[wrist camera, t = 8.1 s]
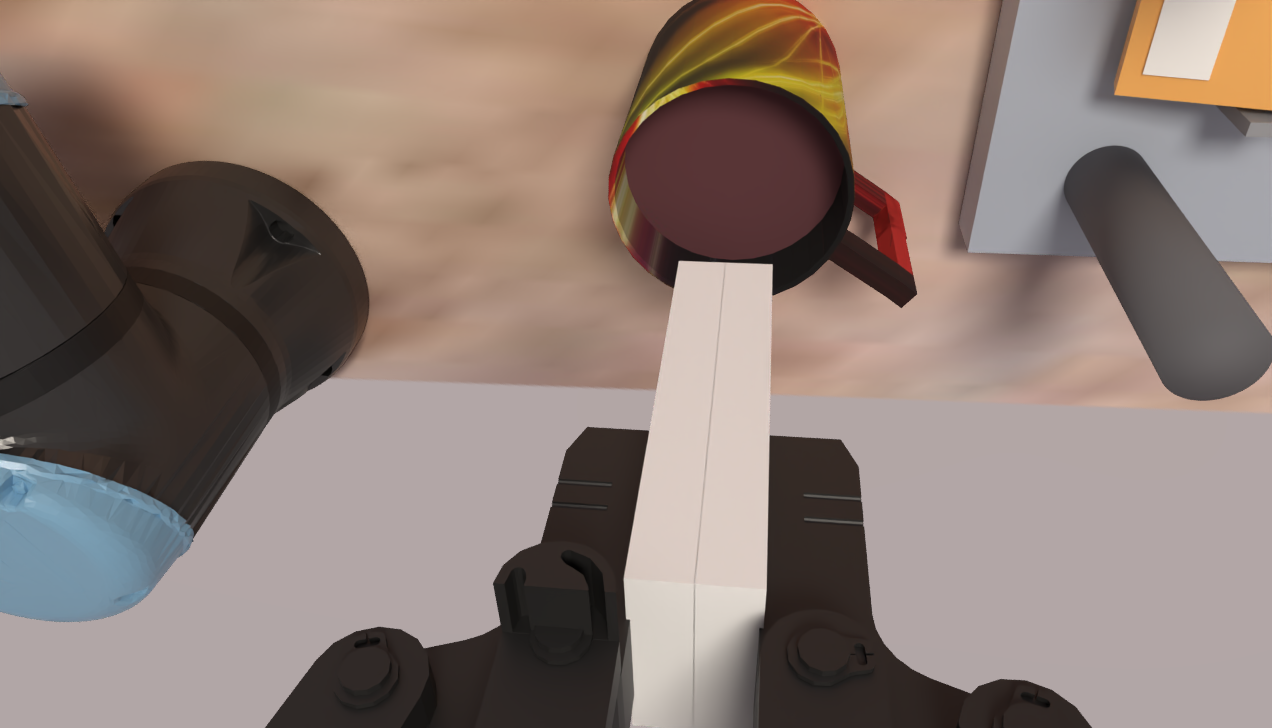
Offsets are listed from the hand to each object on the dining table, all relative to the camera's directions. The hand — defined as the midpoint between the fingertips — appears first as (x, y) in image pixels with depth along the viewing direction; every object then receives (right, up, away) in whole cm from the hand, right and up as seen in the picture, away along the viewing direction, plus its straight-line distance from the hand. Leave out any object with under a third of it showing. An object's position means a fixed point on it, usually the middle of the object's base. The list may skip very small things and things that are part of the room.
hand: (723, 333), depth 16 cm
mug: (+6, +13, +31) cm, 34 cm away
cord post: (+20, +8, +28) cm, 35 cm away
